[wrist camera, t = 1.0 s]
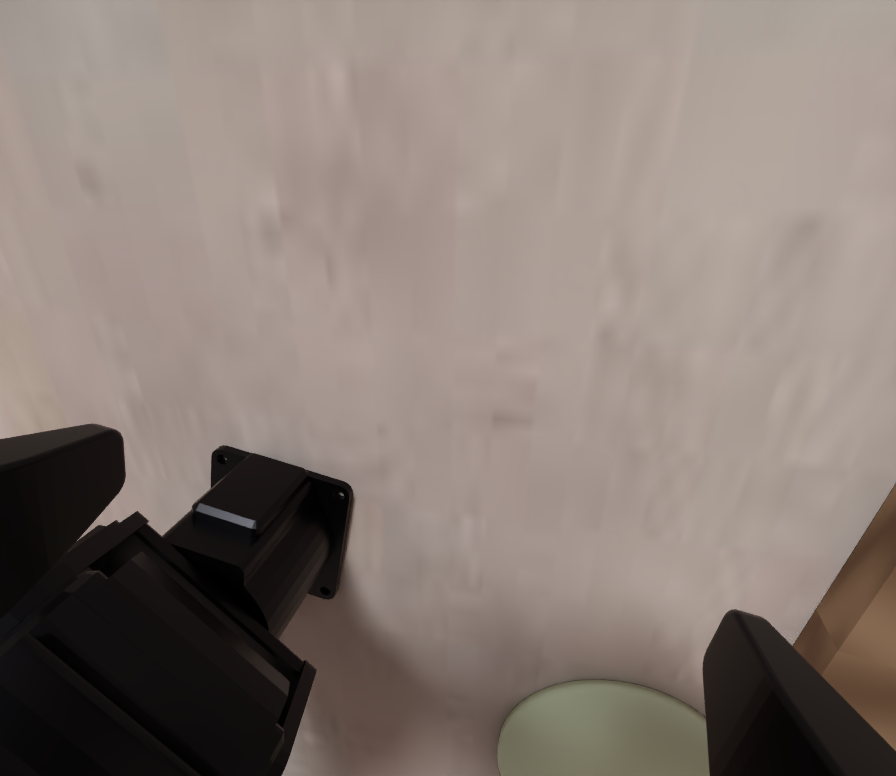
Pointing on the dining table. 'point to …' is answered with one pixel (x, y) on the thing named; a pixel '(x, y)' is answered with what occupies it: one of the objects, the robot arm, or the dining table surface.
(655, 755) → the felt coaster
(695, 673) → the dining table surface
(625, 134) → the dining table surface
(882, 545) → the frame
